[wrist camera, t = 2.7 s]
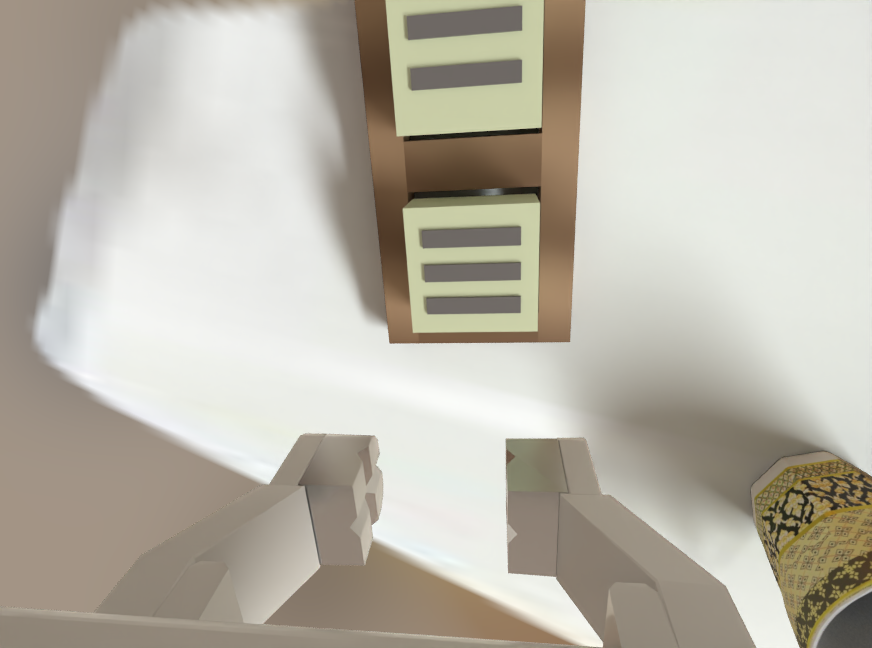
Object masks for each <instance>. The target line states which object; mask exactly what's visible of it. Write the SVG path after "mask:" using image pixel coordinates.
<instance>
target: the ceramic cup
mask: <svg viewBox="0 0 872 648" xmlns="http://www.w3.org/2000/svg"><path fill="white" fill-rule="evenodd" d="M751 499H752V509H753V519H754V523H755V526H756V528H757V531H758V535H759V537H760V539H761V542H762V544H763V547H764V549H765V552H766V554H767V557H768V560H769V562H770V565H771V568H772V570H773V573H774V576H775V578H776V581H777V583H778V585H779V588H780V590H781V593H782V596H783V600H784V604H785V608H786V611H787V615H788V618H789V620H790V623H791V626H792V628H793V631H794V634H795V636H796V639H797V642H798V644H799V647H800V648H872V476H870V475H869V474H867V473H866V472H864V471H862V470H861V469H859V468H857V467H855V466H853V465H852V464H850V463H848V462H846V461H844V460H843V459H841V458H839V457H837V456H835V455H834V454H832V453H829V452H826V451H821V452H814V453H808V454H801V455H795V456H789V457H783V458H781V459H780V460H778V461H777V462H776V463H775V464H774V465H773V466H772V467H771V468H770V469H769V470H768V471H767V472H766V473H765V474H763V475H762V476H761V477H760V478H759V479H758V480H757V481H756V482H755V483H754V484H753V485H752V487H751Z"/></svg>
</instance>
